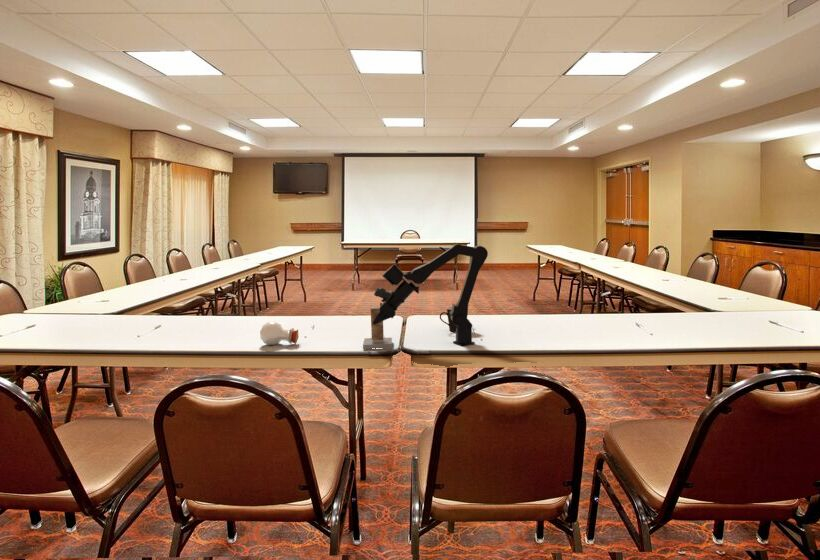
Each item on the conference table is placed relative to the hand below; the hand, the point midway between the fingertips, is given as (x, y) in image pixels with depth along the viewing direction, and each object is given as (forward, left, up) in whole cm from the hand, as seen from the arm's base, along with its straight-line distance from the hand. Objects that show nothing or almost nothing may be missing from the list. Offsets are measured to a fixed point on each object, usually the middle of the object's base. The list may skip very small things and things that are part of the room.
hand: (373, 322), depth 207 cm
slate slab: (-1, -1, -9) cm, 10 cm away
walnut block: (-1, -1, -7) cm, 7 cm away
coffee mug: (+5, -41, -10) cm, 43 cm away
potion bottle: (+25, +31, -10) cm, 41 cm away
